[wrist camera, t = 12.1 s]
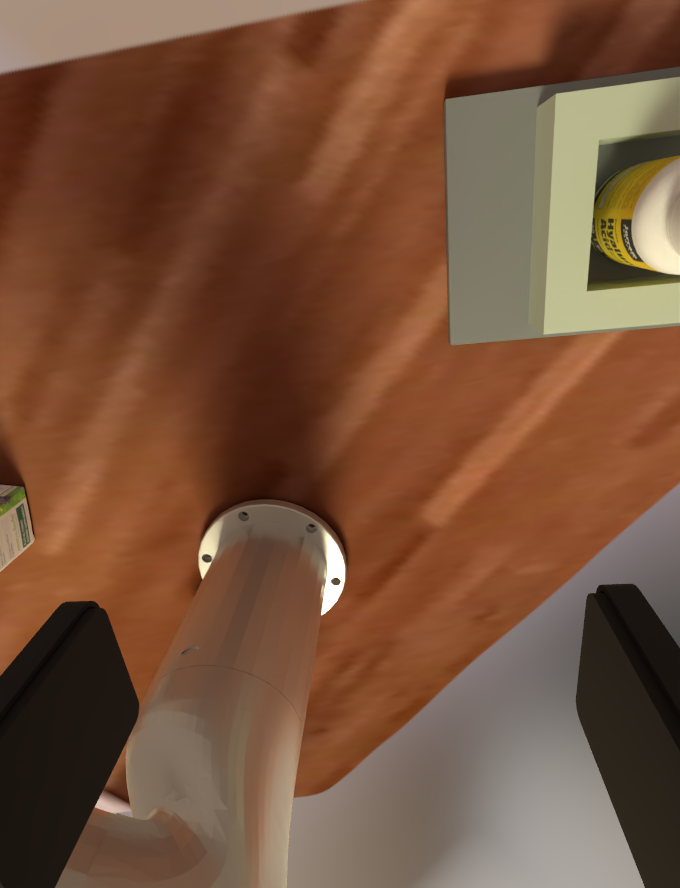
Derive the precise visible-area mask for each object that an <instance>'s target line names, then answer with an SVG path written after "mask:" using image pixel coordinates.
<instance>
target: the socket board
mask: <svg viewBox="0 0 680 888" xmlns="http://www.w3.org/2000/svg"><path fill="white" fill-rule="evenodd" d="M443 109H444V155H445V201H446V248H447V294H448V340H449V343H450V345H459V344H471V343H483V342H494V341H506V340H518V339H530V338H541V337H553V336H565V335H577V334H588V333H600V332H612V331H624V330H635V329H647V328H659V327H671V326H680V275H674V274H666V273H662V272H657V271H653V270H649V269H644V268H639V267H635V266H630V265H625V264H621V263H617V262H614V261H611V260H608V259H606V258H605V257H603V256H602V255H600V254H599V253H598V252H597V251H596V250H595V248H594V247H593V245H592V244H591V233H592V221H593V209H594V196H595V194H596V193H597V191H598V190H599V188H600V187H601V186H602V185H603V184H604V182H605V181H606V180H607V179H609V178H610V177H611V176H612V175H614V174H615V173H616V172H618V171H620V170H622V169H624V168H626V167H628V166H631V165H634V164H638V163H642V162H647V161H653V160H658V159H663V158H669V157H673V156H679V155H680V67H673V68H666V69H659V70H652V71H644V72H637V73H630V74H623V75H616V76H608V77H601V78H594V79H587V80H580V81H572V82H565V83H558V84H551V85H544V86H536V87H529V88H522V89H515V90H508V91H500V92H493V93H486V94H479V95H472V96H464V97H457V98H450V99H445V101H444V103H443Z"/></svg>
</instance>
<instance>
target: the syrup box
mask: <svg viewBox="0 0 680 888" xmlns="http://www.w3.org/2000/svg"><path fill="white" fill-rule="evenodd" d="M34 541H35V538H34V535H33V532H32V525H31V520H30V515H29V510H28V505H27V500H26V496H25V490H24V487H19V486H10V485H0V571H2V570H3V569H4V568H5V567H6V566H7V565H8V564H9V563H10V562H12V561H13V560H14V559H15V558H16V557H17V556H18V555H19V554H21V553H22V552H23V551H24V550H25V549H26V548H28V547H29V546H30V545H31V544H32V543H33V542H34Z"/></svg>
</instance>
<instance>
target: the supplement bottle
mask: <svg viewBox="0 0 680 888" xmlns="http://www.w3.org/2000/svg"><path fill="white" fill-rule="evenodd" d="M591 244H592V245H593V247H594V248H595V250H596V251H597V252H598V253H599V254H600V255H602V256H603V257H605V258H606V259H608V260H611V261H614V262H617V263H621V264H625V265H630V266H635V267H639V268H644V269H649V270H653V271H657V272H662V273H666V274H674V275H680V155H679V156H673V157H669V158H663V159H658V160H653V161H647V162H642V163H638V164H634V165H631V166H628V167H626V168H624V169H622V170H620V171H618V172H616V173H615V174H614V175H612V176H611V177H610V178H609V179H607V180H606V181H605V182H604V184H603V185H602V186H601V187H600V188H599V190H598V191H597V193H596V194H595V196H594V209H593V221H592V233H591Z"/></svg>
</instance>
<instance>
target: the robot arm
mask: <svg viewBox="0 0 680 888" xmlns="http://www.w3.org/2000/svg"><path fill="white" fill-rule="evenodd" d="M245 512H246V513H245ZM312 524H313V525H312ZM198 566H199V570H200V574H201V577H202V582H201V584H200V586H199V588H198V590H197V592H196V594H195V596H194V598H193V600H192V602H191V604H190V606H189V608H188V610H187V612H186V614H185V616H184V618H183V620H182V622H181V624H180V626H179V628H178V630H177V632H176V634H175V636H174V638H173V640H172V642H171V644H170V646H169V648H168V650H167V652H166V654H165V656H164V658H163V660H162V662H161V664H160V666H159V668H158V670H157V672H156V674H155V676H154V678H153V680H152V682H151V684H150V686H149V688H148V690H147V692H146V694H145V696H144V698H143V700H142V702H141V704H140V706H139V701H138V698H137V696H136V693H135V690H134V687H133V684H132V682H131V679H130V676H129V673H128V671H127V668H126V665H125V662H124V659H123V657H122V654H121V651H120V648H119V646H118V643H117V640H116V637H115V635H114V632H113V629H112V626H111V623H110V621H109V618H108V615H107V613H106V611H105V610H104V609H103V608H100V607H99V605H98V604H97V603H96V602H94V601H78V602H65V603H62V604H61V605H60V606H59V607H58V608H57V609H56V610H55V612H54V613H53V614H52V615H51V616H50V618H49V619H48V620H47V621H46V622H45V624H44V625H43V626H42V627H41V628H40V630H39V631H38V632H37V633H36V634H35V636H34V637H33V638H32V639H31V640H30V641H29V643H28V644H27V645H26V646H25V647H24V649H23V650H22V651H21V652H20V653H19V655H18V656H17V657H16V658H15V659H14V661H13V662H12V663H11V664H10V665H9V667H8V668H7V669H6V670H5V671H4V673H3V674H2V675H1V676H0V888H287V861H288V844H289V832H290V822H291V812H292V803H293V796H294V788H295V781H296V774H297V767H298V760H299V754H300V748H301V741H302V735H303V729H304V723H305V717H306V710H307V704H308V697H309V691H310V685H311V678H312V672H313V665H314V659H315V652H316V646H317V640H318V633H319V627H320V620H321V616H322V615H323V614H324V613H326V612H327V611H328V610H330V609H331V608H332V606H333V605H334V604H335V603H336V602H337V601H338V599H339V597H340V595H341V593H342V591H343V588H344V584H345V581H346V572H347V564H346V555H345V552H344V549H343V546H342V544H341V542H340V540H339V538H338V537H337V535H336V533H335V532H334V531H333V530H332V529H331V527H330V526H329V525H328V524H327V523H326V522H325V521H324V520H322V519H321V518H320V517H319V516H317V515H316V514H314V513H313V512H311V511H309V510H307V509H305V508H304V507H301V506H298V505H295V504H293V503H290V502H285V501H280V500H273V499H259V500H253V501H246V502H243V503H240V504H238V505H235V506H232V507H231V508H229V509H227V510H226V511H224V512H222V513H221V514H220V515H219V516H218V517H217V518H216V519H215V520H214V521H213V522H212V523H211V525H210V526H209V528H208V529H207V531H206V533H205V535H204V537H203V539H202V541H201V543H200V548H199V552H198ZM576 705H577V712H578V716H579V719H580V722H581V724H582V727H583V730H584V732H585V735H586V737H587V740H588V743H589V745H590V748H591V750H592V753H593V755H594V758H595V761H596V763H597V766H598V768H599V771H600V773H601V776H602V778H603V781H604V784H605V786H606V789H607V791H608V794H609V796H610V799H611V802H612V804H613V806H614V809H615V811H616V814H617V817H618V819H619V822H620V825H621V827H622V830H623V832H624V835H625V837H626V840H627V842H628V845H629V848H630V850H631V853H632V855H633V858H634V860H635V863H636V866H637V868H638V871H639V873H640V876H641V878H642V881H643V883H644V886H645V888H680V648H679V647H678V645H677V644H676V642H675V641H674V639H673V638H672V636H671V635H670V634H669V632H668V631H667V629H666V628H665V626H664V625H663V623H662V622H661V621H660V619H659V617H658V616H657V615H656V613H655V612H654V610H653V609H652V607H651V606H650V605H649V603H648V602H647V600H646V599H645V597H644V596H643V595H642V593H641V591H640V590H639V589H638V588H637V586H636V585H633V584H612V585H599V586H598V588H597V591H596V593H591V594H588V596H587V600H586V609H585V619H584V629H583V638H582V647H581V656H580V666H579V676H578V684H577V694H576ZM127 740H128V742H127ZM126 742H127V751H126V777H127V786H128V793H129V799H130V805H131V810H132V814H133V817H128V816H125V815H121V814H118V813H117V814H112V813H109V812H106V811H103V810H100V809H97V808H94V807H95V805H96V803H97V801H98V799H99V797H100V795H101V793H102V791H103V789H104V787H105V785H106V783H107V781H108V779H109V777H110V775H111V773H112V770H113V768H114V766H115V764H116V762H117V760H118V758H119V756H120V754H121V752H122V750H123V748H124V746H125V744H126Z"/></svg>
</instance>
